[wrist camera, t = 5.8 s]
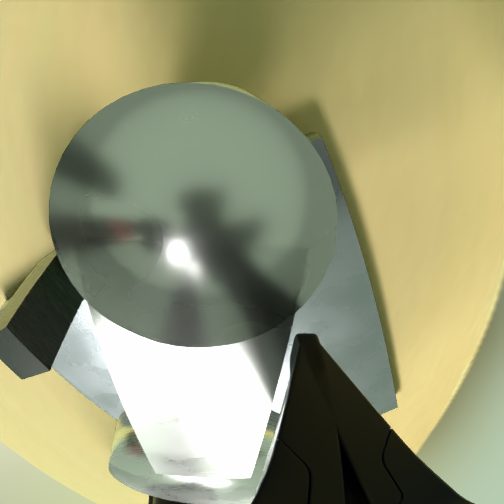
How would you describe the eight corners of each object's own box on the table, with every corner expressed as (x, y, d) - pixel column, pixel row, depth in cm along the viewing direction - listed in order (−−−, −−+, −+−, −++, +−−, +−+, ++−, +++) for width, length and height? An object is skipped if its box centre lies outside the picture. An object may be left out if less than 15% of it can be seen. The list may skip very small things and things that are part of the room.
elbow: (277, 445, 18) (285, 510, 14) (139, 440, 17) (132, 504, 13) (371, 102, 8) (483, 138, 4) (60, 90, 7) (-57, 121, 3)
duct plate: (189, 455, 24) (187, 514, 18) (-25, 261, 12) (-83, 332, 7) (393, 397, 20) (418, 462, 15) (280, 58, 9) (335, 37, 4)
